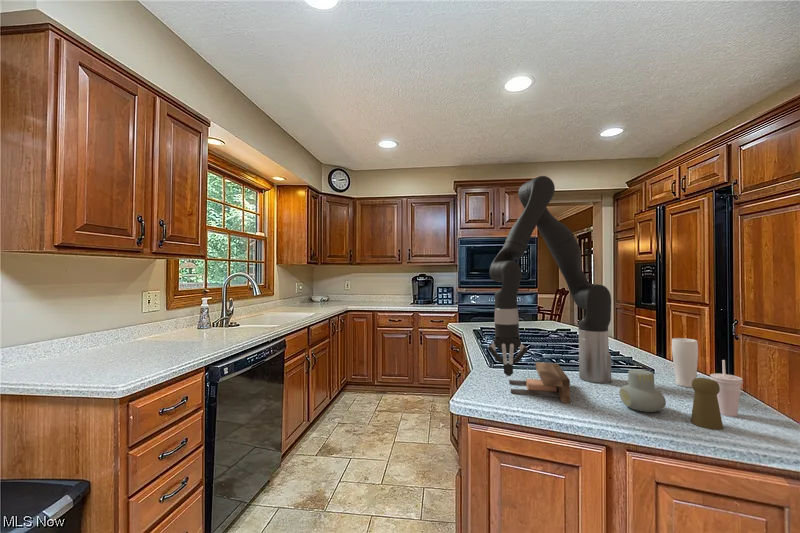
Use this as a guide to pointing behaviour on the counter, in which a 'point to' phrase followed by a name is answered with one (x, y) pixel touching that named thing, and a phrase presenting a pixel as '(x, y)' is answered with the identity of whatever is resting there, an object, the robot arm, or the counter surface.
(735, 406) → the smoothie
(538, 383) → the light orange flat block
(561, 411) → the counter surface
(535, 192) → the robot arm
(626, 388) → the air freshener
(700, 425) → the cork
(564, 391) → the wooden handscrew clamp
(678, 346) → the drinking glass
